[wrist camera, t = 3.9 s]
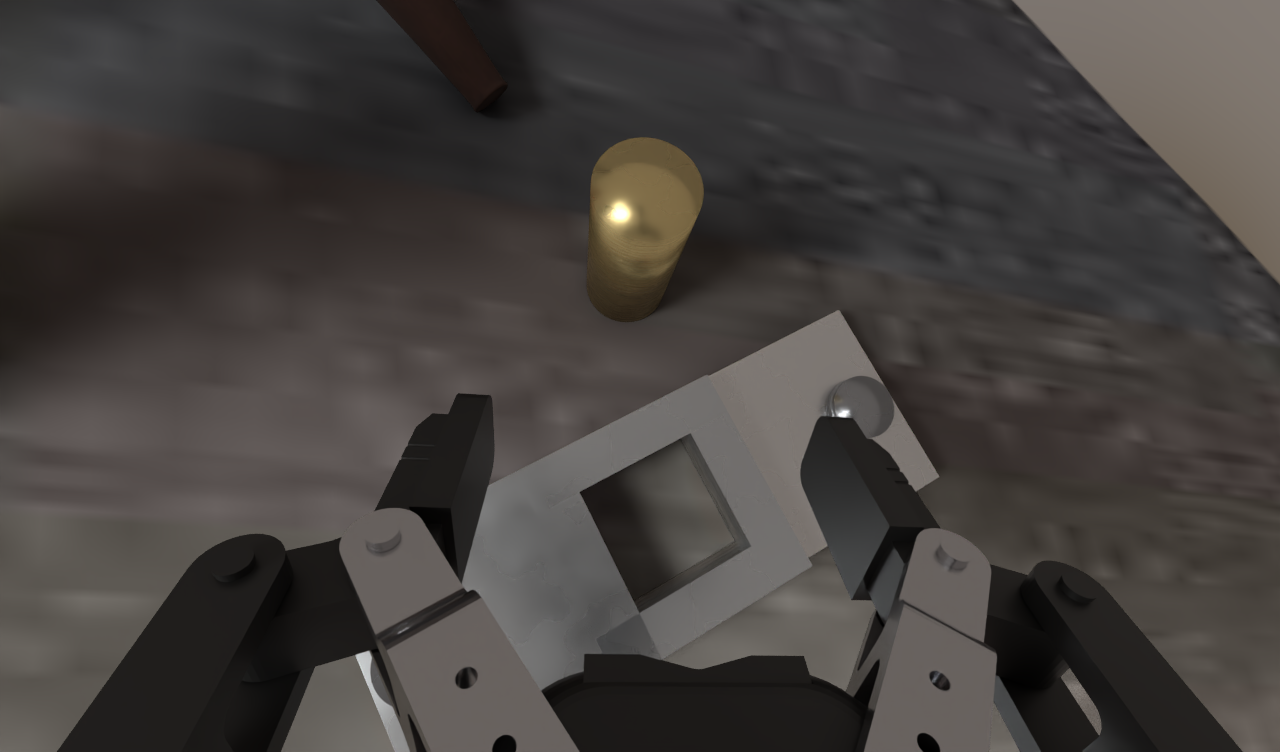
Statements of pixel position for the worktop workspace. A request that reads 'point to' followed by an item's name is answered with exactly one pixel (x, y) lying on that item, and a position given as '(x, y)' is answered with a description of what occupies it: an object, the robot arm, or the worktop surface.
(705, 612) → the grey metal plate
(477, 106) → the holster
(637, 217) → the pin
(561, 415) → the worktop surface
